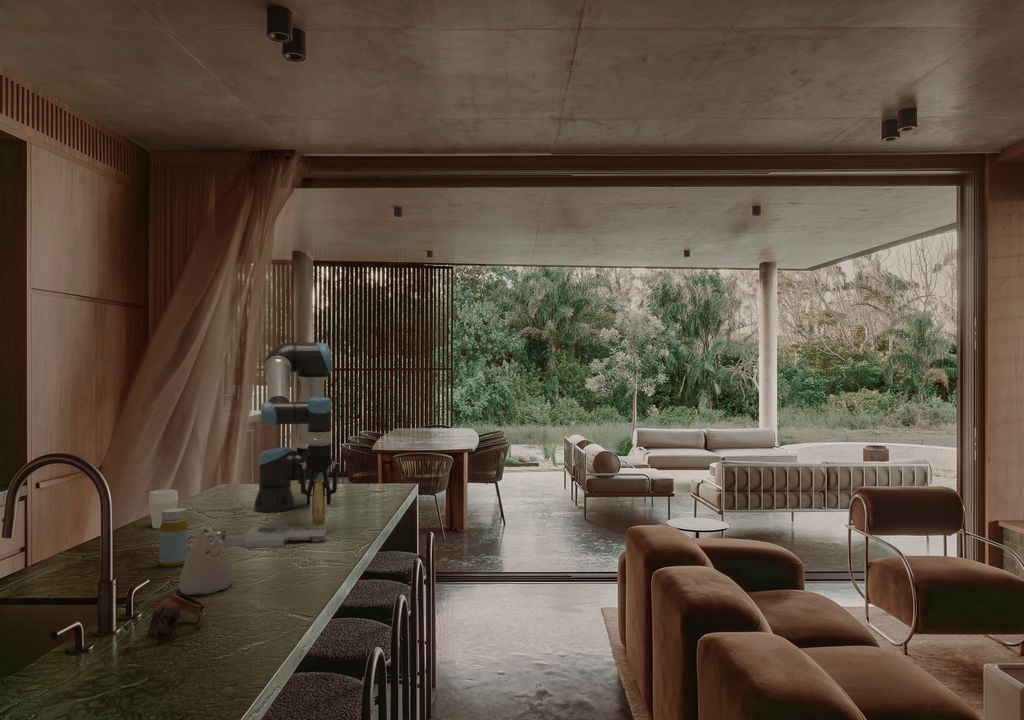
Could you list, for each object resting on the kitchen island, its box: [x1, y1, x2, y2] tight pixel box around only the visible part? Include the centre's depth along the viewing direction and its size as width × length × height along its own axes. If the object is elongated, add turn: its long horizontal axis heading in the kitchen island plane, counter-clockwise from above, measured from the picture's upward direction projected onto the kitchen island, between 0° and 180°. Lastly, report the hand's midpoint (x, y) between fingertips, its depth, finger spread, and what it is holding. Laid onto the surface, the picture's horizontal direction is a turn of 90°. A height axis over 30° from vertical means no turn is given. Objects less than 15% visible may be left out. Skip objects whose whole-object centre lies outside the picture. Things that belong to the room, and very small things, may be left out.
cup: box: [148, 488, 179, 530], centre depth 236 cm, size 9×9×12 cm
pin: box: [311, 479, 326, 526], centre depth 228 cm, size 4×4×14 cm
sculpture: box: [178, 526, 233, 596], centre depth 170 cm, size 13×12×15 cm
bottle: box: [158, 507, 189, 568], centre depth 190 cm, size 7×7×15 cm
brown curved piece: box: [148, 592, 205, 638], centre depth 142 cm, size 12×10×8 cm
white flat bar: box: [215, 524, 328, 549], centre depth 214 cm, size 11×35×4 cm, turn 99°
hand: (318, 514), depth 228 cm, fingers closed on pin, 4 cm apart
